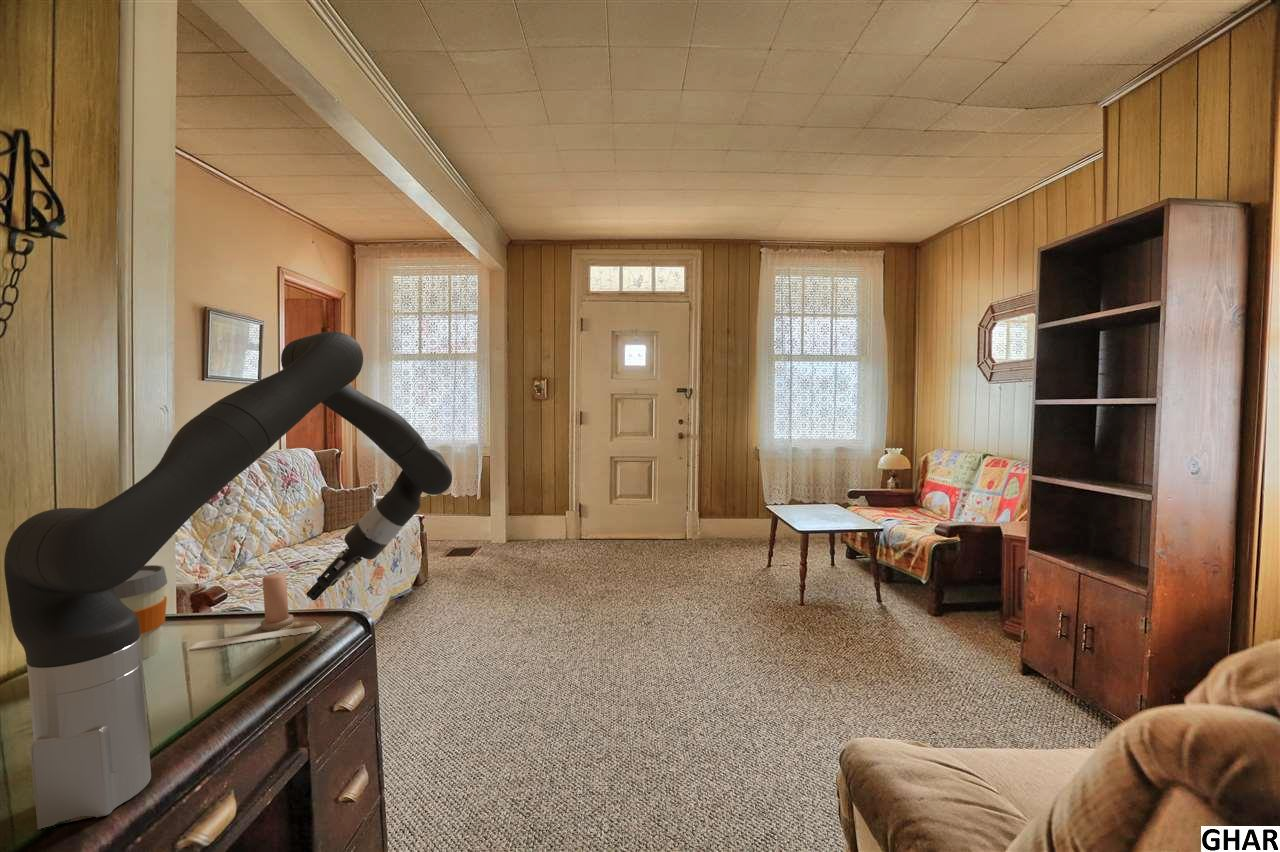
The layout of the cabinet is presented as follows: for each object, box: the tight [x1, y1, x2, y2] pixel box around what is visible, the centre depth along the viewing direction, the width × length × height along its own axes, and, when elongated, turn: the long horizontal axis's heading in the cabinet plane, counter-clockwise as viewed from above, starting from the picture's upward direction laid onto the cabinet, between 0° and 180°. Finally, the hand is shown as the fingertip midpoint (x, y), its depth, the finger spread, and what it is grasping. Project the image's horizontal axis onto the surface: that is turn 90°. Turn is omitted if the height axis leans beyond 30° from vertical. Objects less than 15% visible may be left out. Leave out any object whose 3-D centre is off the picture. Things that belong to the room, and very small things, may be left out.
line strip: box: [189, 625, 317, 651], centre depth 109 cm, size 3×20×1 cm, turn 108°
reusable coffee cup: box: [114, 564, 168, 661], centre depth 102 cm, size 13×12×15 cm
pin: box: [260, 573, 295, 631], centre depth 115 cm, size 6×6×10 cm
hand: (319, 590), depth 116 cm, fingers open, 8 cm apart
